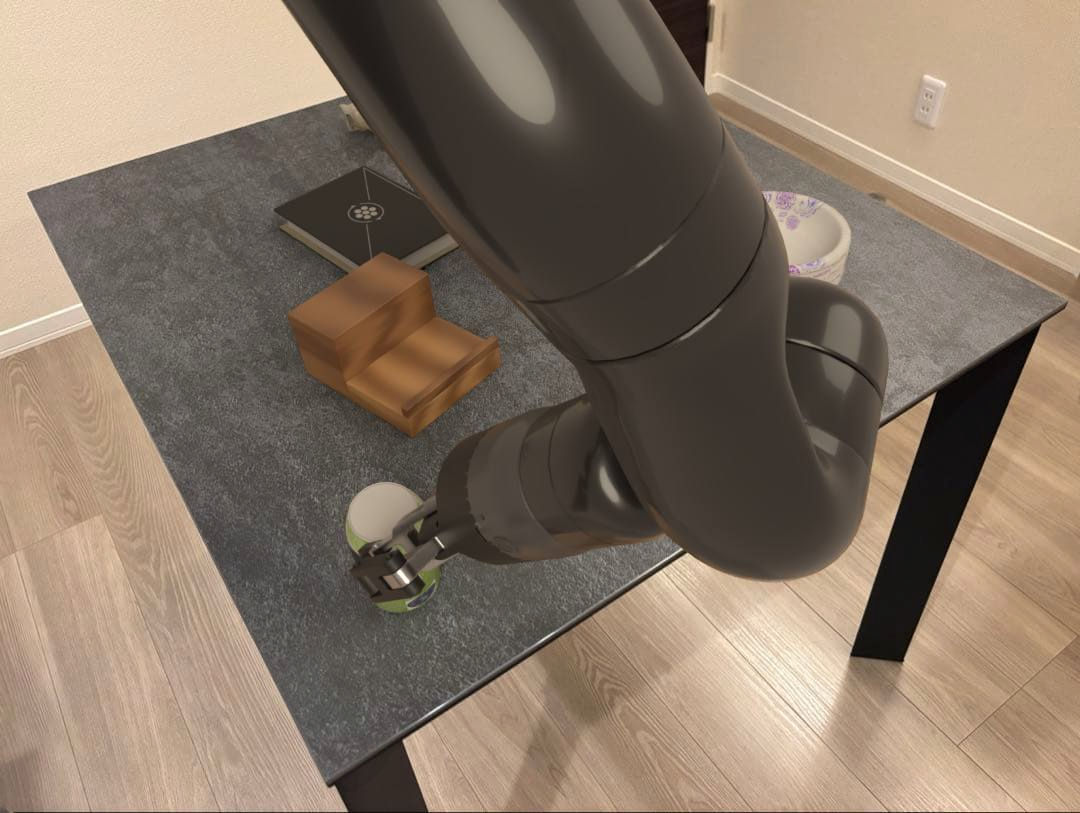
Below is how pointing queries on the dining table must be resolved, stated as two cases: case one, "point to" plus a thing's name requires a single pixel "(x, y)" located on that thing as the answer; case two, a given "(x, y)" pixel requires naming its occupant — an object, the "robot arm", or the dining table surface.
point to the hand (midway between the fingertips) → (416, 518)
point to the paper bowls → (811, 235)
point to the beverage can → (386, 532)
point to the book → (366, 222)
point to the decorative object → (353, 118)
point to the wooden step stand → (390, 344)
